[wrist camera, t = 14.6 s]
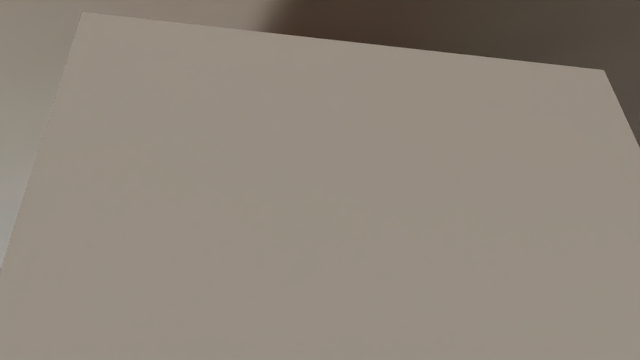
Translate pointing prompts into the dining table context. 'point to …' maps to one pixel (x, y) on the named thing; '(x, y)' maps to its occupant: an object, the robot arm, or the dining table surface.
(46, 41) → the dining table surface
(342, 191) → the off-white matte cube
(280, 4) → the dining table surface
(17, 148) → the dining table surface
